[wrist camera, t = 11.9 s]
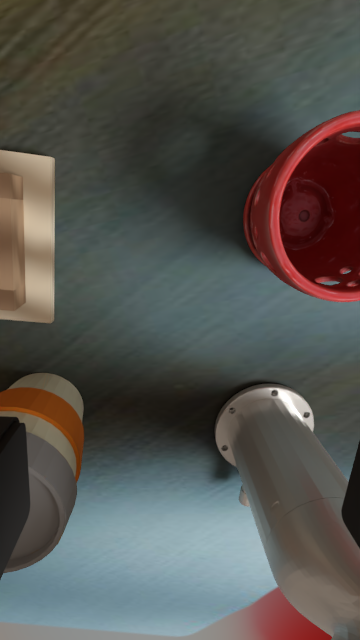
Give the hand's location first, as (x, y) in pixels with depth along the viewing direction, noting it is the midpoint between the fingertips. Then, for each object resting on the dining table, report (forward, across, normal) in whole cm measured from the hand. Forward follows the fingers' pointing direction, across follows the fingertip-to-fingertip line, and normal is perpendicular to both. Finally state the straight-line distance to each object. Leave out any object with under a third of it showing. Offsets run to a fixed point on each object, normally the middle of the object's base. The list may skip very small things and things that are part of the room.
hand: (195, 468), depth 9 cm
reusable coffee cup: (+28, +14, +16) cm, 35 cm away
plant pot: (+28, -12, -8) cm, 32 cm away
